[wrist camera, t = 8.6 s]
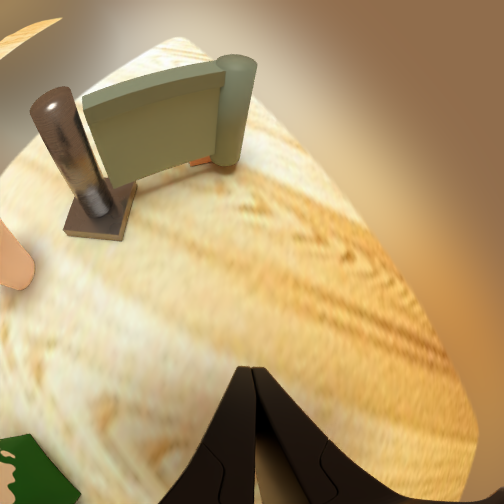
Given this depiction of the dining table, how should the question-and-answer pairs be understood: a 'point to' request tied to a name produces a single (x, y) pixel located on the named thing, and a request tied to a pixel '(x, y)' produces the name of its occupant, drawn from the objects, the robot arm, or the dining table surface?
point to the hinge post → (81, 170)
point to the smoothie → (14, 261)
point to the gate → (172, 118)
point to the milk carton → (31, 475)
